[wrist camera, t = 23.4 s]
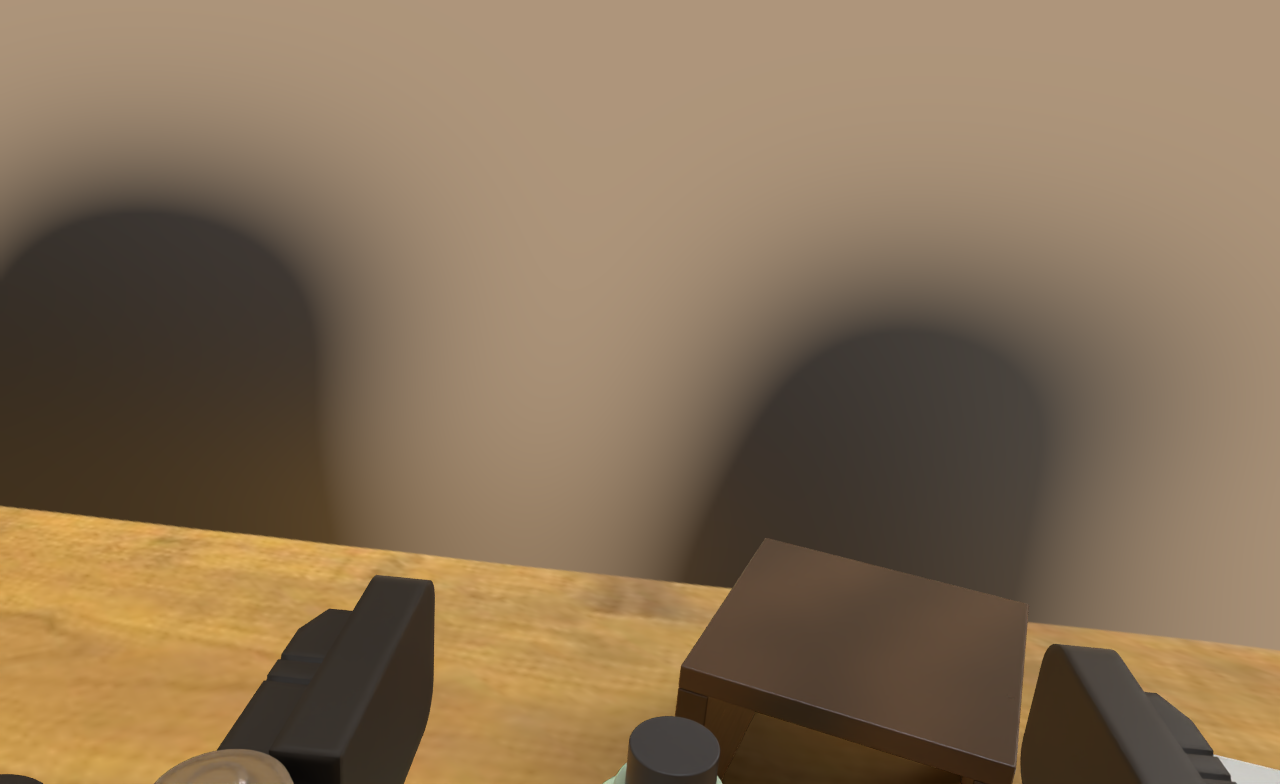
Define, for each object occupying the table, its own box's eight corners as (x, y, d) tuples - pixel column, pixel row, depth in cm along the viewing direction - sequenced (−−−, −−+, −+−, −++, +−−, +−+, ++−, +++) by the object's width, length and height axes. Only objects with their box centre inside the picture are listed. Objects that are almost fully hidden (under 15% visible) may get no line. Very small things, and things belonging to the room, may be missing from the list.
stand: (993, 754, 48) (1029, 603, 45) (970, 950, 37) (1016, 767, 34) (745, 679, 52) (765, 537, 49) (660, 836, 41) (680, 665, 38)
